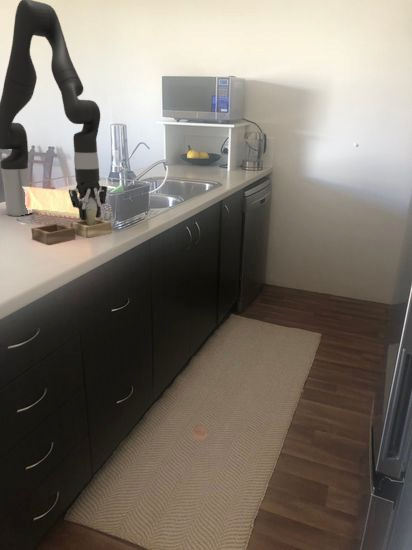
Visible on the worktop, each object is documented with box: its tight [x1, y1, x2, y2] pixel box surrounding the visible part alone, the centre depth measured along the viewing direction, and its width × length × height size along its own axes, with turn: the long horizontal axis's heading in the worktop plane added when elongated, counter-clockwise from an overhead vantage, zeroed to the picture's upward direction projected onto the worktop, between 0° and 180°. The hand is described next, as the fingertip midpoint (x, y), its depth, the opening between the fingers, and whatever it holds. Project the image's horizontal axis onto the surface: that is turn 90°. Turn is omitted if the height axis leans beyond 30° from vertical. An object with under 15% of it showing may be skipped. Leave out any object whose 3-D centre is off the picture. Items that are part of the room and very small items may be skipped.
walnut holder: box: [30, 223, 76, 246], centre depth 137 cm, size 9×9×4 cm
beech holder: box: [70, 218, 112, 239], centre depth 145 cm, size 9×9×4 cm
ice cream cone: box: [85, 197, 97, 226], centre depth 143 cm, size 5×5×15 cm
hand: (90, 218), depth 144 cm, fingers closed on ice cream cone, 5 cm apart
